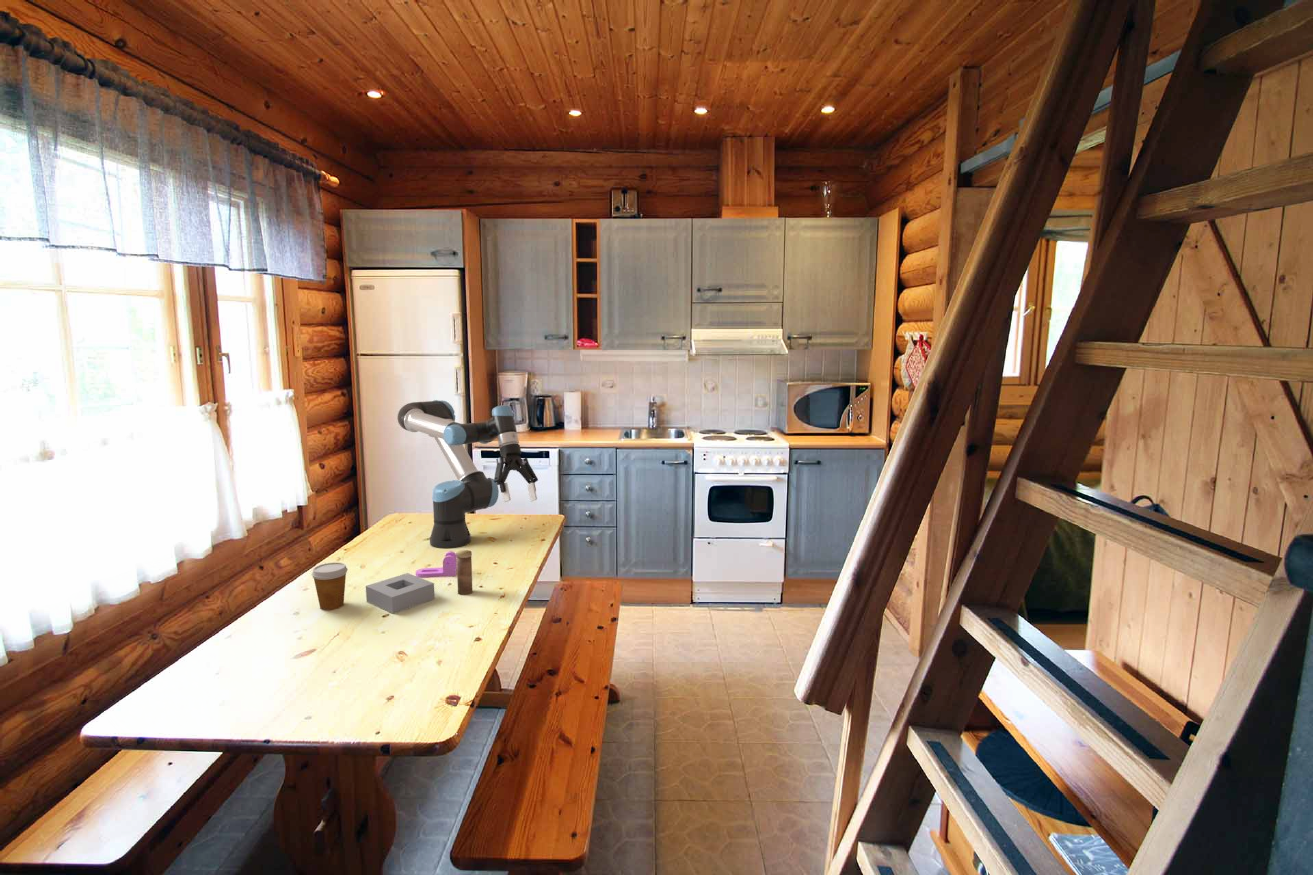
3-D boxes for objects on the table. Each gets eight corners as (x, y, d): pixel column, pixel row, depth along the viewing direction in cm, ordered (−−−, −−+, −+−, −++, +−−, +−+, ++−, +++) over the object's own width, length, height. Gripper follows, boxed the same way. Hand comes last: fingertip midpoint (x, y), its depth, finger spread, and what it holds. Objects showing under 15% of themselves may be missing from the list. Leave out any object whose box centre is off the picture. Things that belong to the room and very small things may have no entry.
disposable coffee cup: (356, 602, 199) (354, 564, 197) (331, 614, 190) (329, 574, 188) (331, 597, 202) (329, 560, 200) (306, 609, 193) (303, 570, 191)
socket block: (366, 601, 199) (365, 585, 198) (408, 587, 210) (407, 572, 209) (392, 613, 191) (391, 597, 190) (434, 598, 202) (434, 583, 201)
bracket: (456, 570, 227) (456, 551, 226) (454, 576, 221) (454, 556, 220) (417, 572, 225) (416, 552, 223) (414, 578, 219) (413, 558, 218)
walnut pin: (454, 592, 207) (453, 552, 205) (466, 588, 210) (465, 549, 209) (463, 596, 204) (462, 555, 202) (475, 591, 208) (474, 552, 206)
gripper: (491, 440, 234) (502, 498, 229) (539, 444, 255) (551, 497, 250) (476, 447, 238) (488, 504, 233) (526, 450, 259) (537, 502, 254)
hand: (521, 500), depth 241 cm, fingers open, 13 cm apart
